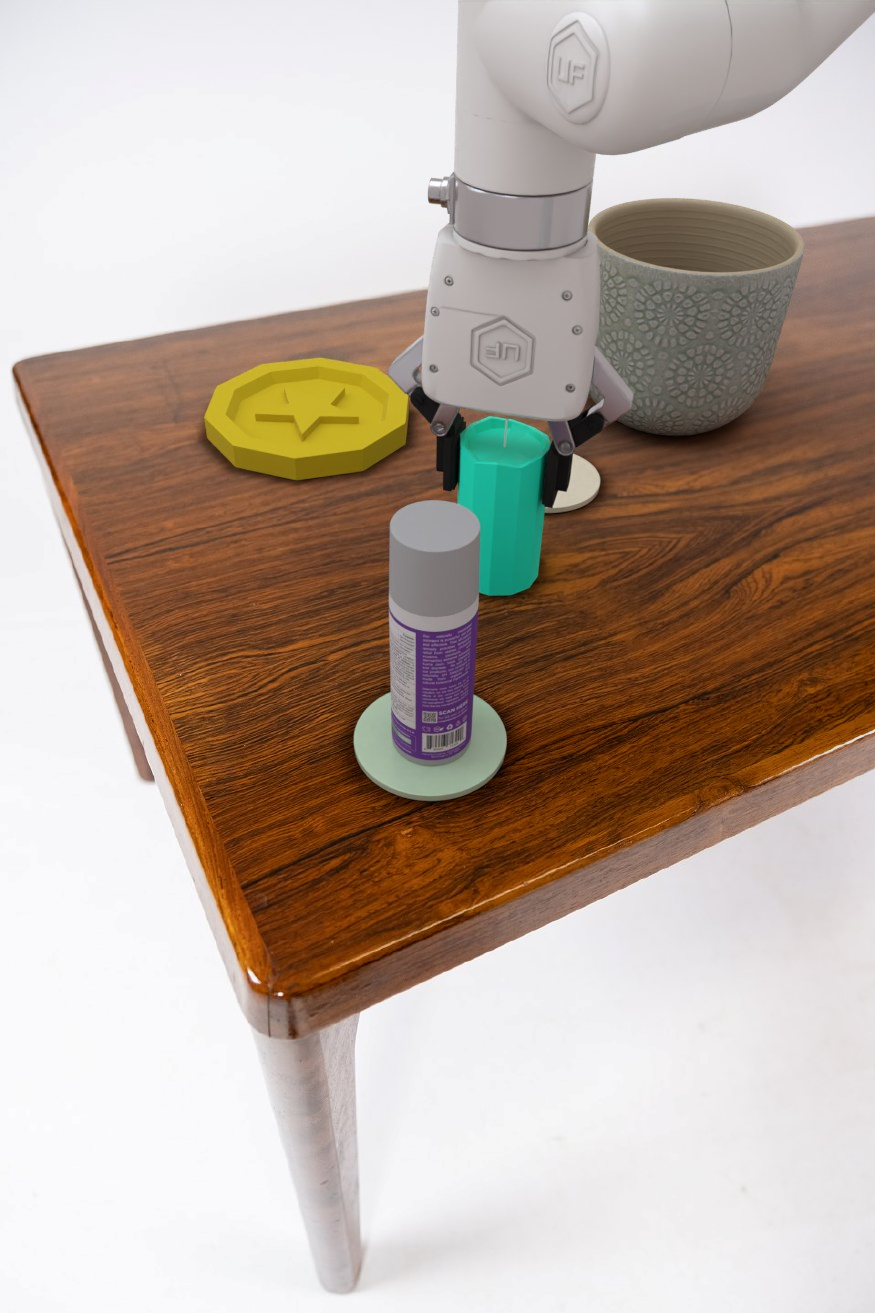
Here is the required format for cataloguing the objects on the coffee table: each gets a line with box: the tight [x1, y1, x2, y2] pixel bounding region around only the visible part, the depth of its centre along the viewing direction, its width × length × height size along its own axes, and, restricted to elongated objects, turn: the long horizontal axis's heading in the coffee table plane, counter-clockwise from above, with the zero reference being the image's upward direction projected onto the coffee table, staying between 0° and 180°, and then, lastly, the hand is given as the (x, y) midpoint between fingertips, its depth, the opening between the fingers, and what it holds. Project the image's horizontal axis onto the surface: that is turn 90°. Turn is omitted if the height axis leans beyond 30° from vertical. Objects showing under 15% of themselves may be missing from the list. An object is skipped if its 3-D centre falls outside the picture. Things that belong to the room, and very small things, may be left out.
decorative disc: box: [203, 357, 410, 481], centre depth 87 cm, size 17×18×2 cm
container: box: [388, 499, 480, 766], centre depth 54 cm, size 5×5×15 cm
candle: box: [456, 415, 551, 597], centre depth 68 cm, size 6×6×12 cm
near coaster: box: [353, 691, 508, 802], centre depth 60 cm, size 9×9×1 cm
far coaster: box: [544, 453, 601, 514], centre depth 81 cm, size 9×9×1 cm
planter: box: [588, 197, 805, 437], centre depth 85 cm, size 17×17×15 cm
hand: (502, 486), depth 68 cm, fingers closed on candle, 6 cm apart
